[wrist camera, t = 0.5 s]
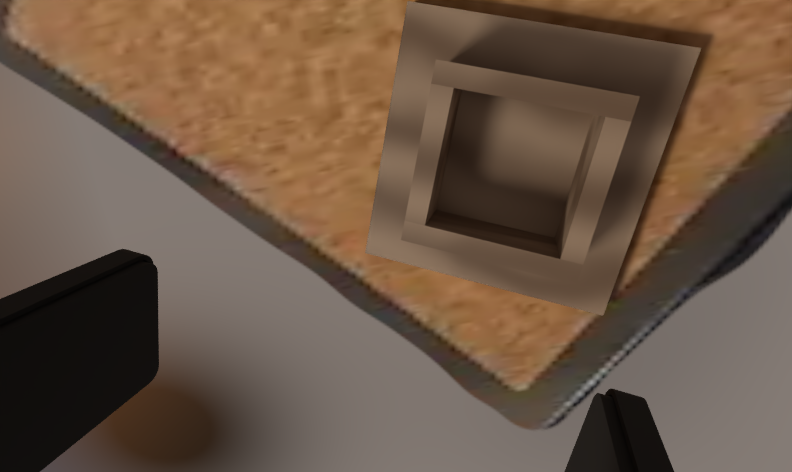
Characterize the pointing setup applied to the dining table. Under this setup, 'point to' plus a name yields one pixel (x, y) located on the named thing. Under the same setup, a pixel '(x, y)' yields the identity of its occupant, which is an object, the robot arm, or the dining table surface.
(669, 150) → the dining table surface
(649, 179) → the bottle stand
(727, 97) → the dining table surface
